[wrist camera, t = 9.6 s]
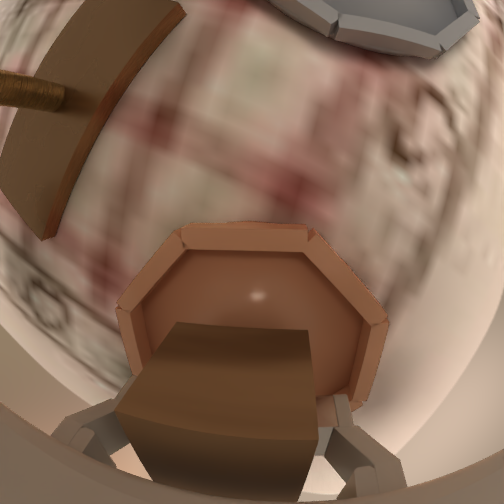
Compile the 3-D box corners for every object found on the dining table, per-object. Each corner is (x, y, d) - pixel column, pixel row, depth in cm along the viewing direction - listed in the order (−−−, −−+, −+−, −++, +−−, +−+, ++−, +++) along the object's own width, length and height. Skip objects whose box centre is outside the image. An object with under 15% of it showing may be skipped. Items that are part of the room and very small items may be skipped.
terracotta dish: (124, 221, 12) (102, 228, 10) (387, 225, 11) (403, 233, 9) (160, 406, 15) (150, 424, 13) (346, 420, 14) (350, 441, 12)
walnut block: (176, 321, 10) (114, 410, 5) (307, 329, 10) (318, 439, 5) (191, 407, 12) (158, 489, 7) (296, 417, 11) (294, 508, 6)
